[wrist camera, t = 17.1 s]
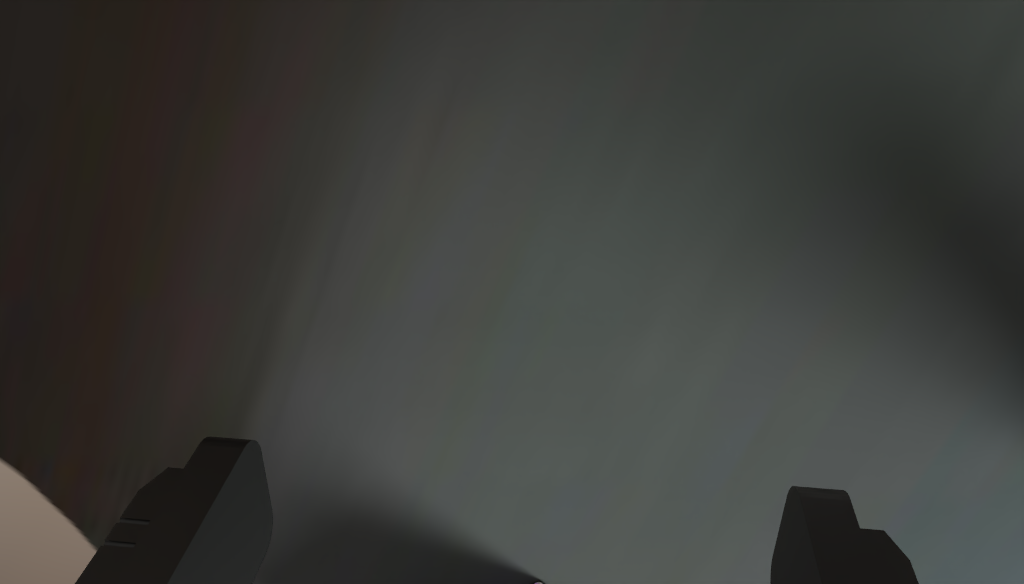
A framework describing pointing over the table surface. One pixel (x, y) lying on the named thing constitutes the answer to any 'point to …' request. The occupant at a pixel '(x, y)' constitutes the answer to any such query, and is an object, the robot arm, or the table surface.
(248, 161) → the table surface
